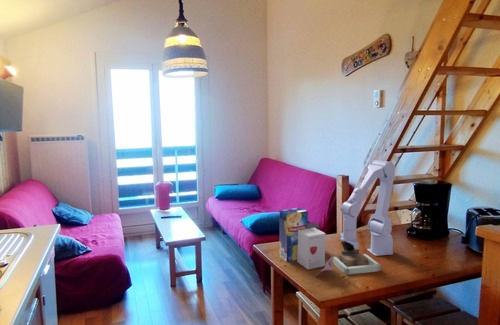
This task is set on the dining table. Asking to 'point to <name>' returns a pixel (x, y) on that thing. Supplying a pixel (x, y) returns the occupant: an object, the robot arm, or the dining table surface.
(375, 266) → the bay
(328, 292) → the dining table surface
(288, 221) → the beverage box
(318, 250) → the supplement box
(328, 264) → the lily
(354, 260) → the cart
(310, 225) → the jar
